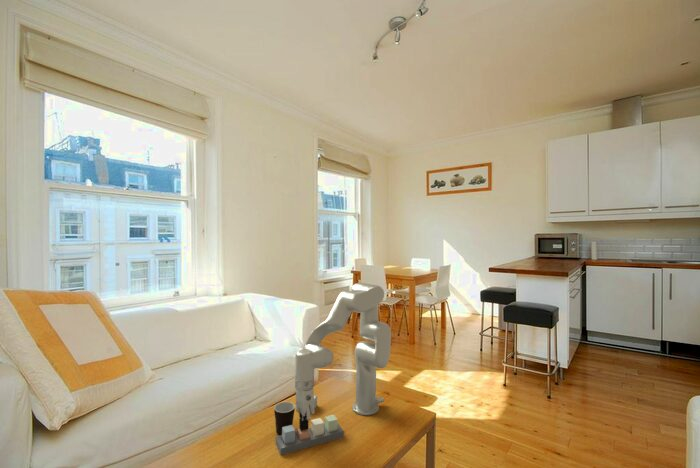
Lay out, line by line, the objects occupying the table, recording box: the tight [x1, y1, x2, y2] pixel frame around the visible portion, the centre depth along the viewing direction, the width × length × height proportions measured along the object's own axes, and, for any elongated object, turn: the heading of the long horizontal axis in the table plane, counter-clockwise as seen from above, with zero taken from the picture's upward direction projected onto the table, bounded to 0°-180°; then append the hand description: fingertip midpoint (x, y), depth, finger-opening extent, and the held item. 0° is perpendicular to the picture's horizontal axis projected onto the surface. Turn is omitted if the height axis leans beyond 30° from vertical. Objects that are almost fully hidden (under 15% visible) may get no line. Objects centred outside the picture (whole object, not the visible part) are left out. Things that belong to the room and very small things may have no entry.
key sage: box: [324, 414, 339, 433], centre depth 133 cm, size 4×4×4 cm
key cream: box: [310, 417, 325, 436], centre depth 130 cm, size 4×4×4 cm
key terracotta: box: [296, 427, 310, 440], centre depth 127 cm, size 4×4×4 cm
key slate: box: [282, 424, 296, 445], centre depth 125 cm, size 4×4×4 cm
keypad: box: [275, 423, 345, 456], centre depth 129 cm, size 26×8×2 cm, turn 117°
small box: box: [295, 394, 318, 415], centre depth 153 cm, size 8×8×5 cm
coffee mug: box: [273, 401, 296, 436], centre depth 136 cm, size 12×9×10 cm
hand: (303, 428), depth 128 cm, fingers closed
